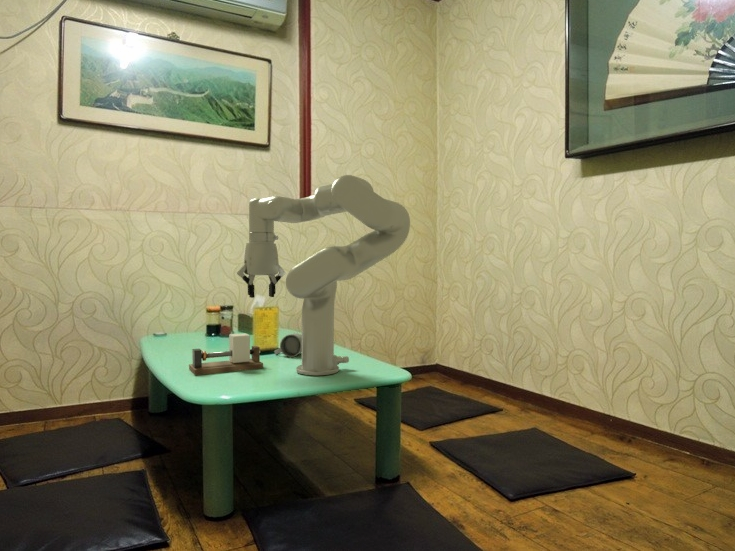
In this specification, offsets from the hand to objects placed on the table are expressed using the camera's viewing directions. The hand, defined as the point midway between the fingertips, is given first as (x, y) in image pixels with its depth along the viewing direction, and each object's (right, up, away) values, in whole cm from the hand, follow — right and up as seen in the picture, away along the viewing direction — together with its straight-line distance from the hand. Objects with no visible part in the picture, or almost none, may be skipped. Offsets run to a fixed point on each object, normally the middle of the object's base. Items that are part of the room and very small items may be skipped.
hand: (261, 296), depth 157 cm
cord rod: (-10, -20, -5) cm, 23 cm away
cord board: (-10, -22, -5) cm, 24 cm away
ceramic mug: (+6, -21, +18) cm, 29 cm away
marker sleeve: (-6, -20, -3) cm, 21 cm away
